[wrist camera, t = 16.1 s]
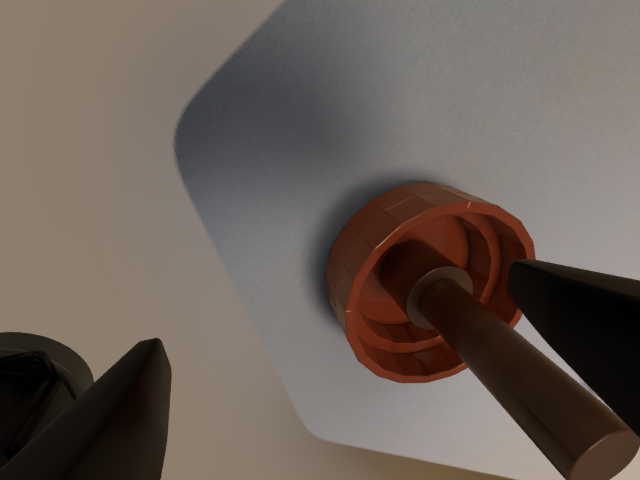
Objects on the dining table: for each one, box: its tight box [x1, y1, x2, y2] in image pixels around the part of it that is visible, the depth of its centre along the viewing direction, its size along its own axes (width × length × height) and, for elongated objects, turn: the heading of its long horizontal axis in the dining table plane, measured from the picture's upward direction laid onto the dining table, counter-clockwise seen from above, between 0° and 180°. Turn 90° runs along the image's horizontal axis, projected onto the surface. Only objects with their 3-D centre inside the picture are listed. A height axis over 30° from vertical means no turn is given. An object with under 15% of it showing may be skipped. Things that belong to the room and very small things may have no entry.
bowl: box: [326, 182, 536, 383], centre depth 22 cm, size 12×12×5 cm
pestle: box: [380, 240, 640, 480], centre depth 17 cm, size 4×4×14 cm
